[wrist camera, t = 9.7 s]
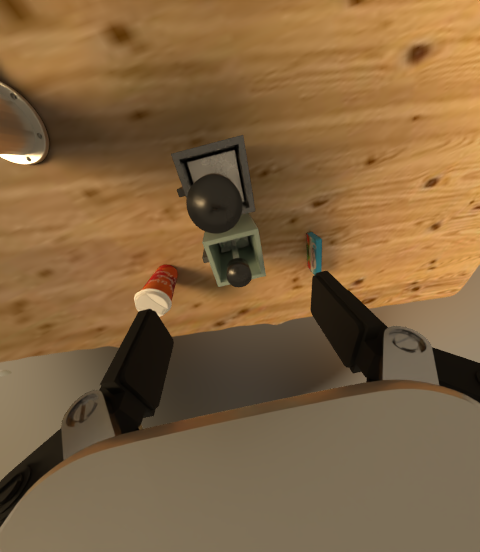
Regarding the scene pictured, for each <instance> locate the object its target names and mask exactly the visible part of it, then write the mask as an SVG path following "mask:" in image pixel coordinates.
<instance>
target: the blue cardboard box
mask: <svg viewBox="0 0 480 552" xmlns="http://www.w3.org/2000/svg"><path fill="white" fill-rule="evenodd" d="M306 235H307V264H308V268H309V269H310V271H311V272H312V273H313V274H314V275H315V274H316V273H318V272H321V262H322V239H321V238H320V237H318V236H317V235H316V234H314V233H313V232H310V233H307V234H306Z"/></svg>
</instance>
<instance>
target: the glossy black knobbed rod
mask: <svg viewBox="0 0 480 552" xmlns="http://www.w3.org/2000/svg"><path fill="white" fill-rule="evenodd" d="M219 245H220V249H221V252H226V251H230V250H232V254H233V259H232V260H230V261H229V262H228V264H227V280H228V282H229V283H230V284H231V285H232V286H234V287H243V286H246V285H247V284H248V283H249V282H250V281H251V279H252V274H251V270H250V267H249V264H248V262H247V261H246V260H245V259H243V258H239V254H238V250H237V249H239V248H243V247H247V246H249V242H248V237H247V236H245V237H241V238H237V239H233V240H229V241H225V242H221V243H219Z"/></svg>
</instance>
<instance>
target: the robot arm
mask: <svg viewBox="0 0 480 552" xmlns="http://www.w3.org/2000/svg"><path fill="white" fill-rule="evenodd" d="M48 150H49V139H48V134H47V131H46V129H45V126H44V124H43V122H42V120H41V118H40V117H39V115H38V114H37V112H36V111H35V110H34V108H33V107H32V106H31V105H30V104H29V103H28V101H27V100H26V99H25V98H23V97H22V96H21V95H20V94H19V93H18V92H17V91H15V90H14V89H12V88H11V87H10V86H8V85H6V84H4V83H2V82H1V81H0V157H2V158H4V159H6V160H8V161H11V162H14V163H18V164H25V165H26V164H37V163H39V162H41V161H42V160H43V159H44V158H45V157H46V156H47V154H48ZM311 313H312V315H313V317H314V318H315V320H316V322H317V323H318V325H319V326H320V328H321V329H322V331H323V333H324V334H325V336H326V337H327V339H328V340H329V342H330V343H331V345H332V347H333V348H334V350H335V351H336V353H337V354H338V356H339V358H340V359H341V361H342V362H343V364H344V365H345V366H346V367H349V368H350V370H351V371H352V372H353V373H357V372H362V373H363V374H364V376H365V377H367V381H366V383H360V384H355V385H350V386H344V387H339V388H333V389H328V390H323V391H319V392H314V393H309V394H304V395H299V396H294V397H290V398H285V399H280V400H275V401H270V402H266V403H261V404H256V405H251V406H247V407H242V408H237V409H233V410H229V411H223V412H218V413H214V414H209V415H205V416H200V417H196V418H191V419H186V420H182V421H177V422H173V423H168V424H163V425H159V426H154V427H150V428H146V429H143V427H142V425H141V422H142V419H143V418H145V417H150V416H154V413H155V409H156V408H157V407H158V406H159V402H160V398H161V394H162V390H163V386H164V381H165V378H166V374H167V369H168V365H169V361H170V357H171V353H172V349H173V343H174V342H173V339H172V337H171V335H170V334H169V332H168V330H167V329H166V327H165V326H164V324H163V322H162V321H161V319H160V318H159V316H158V314H157V313H156V311H154V310H152V309H146V310H141V311H139V312H138V314H137V316H136V318H135V319H134V321H133V323H132V325H131V327H130V329H129V331H128V333H127V335H126V336H125V338H124V340H123V342H122V344H121V346H120V348H119V350H118V351H117V353H116V355H115V357H114V359H113V361H112V363H111V365H110V367H109V368H108V371H107V372H106V374H105V376H104V378H103V380H102V382H101V388H100V390H92V391H90V392H87V393H85V394H84V395H82V396H81V397H80V398H78V399H77V400H76V401H75V402H74V403H73V404H72V405H71V406H70V408H69V409H68V411H67V412H66V414H65V415H64V418H63V420H62V425H61V429H60V430H58V431H57V432H56V433H55V434H54V435H53V436H51V437H50V438H49V439H48V440H47V441H46V442H44V443H43V444H42V445H41V446H40V447H39V448H37V449H36V450H35V451H34V452H33V453H32V454H30V455H29V456H28V457H27V458H26V459H25V460H24V461H22V462H21V463H20V464H19V465H18V466H16V467H15V468H14V469H13V470H12V471H11V472H9V473H8V474H7V475H6V476H5V477H4V478H3V479H2V480H1V482H0V552H480V363H477V362H475V361H472V360H468V359H466V358H463V357H460V356H456V355H453V354H451V353H448V352H444V351H441V350H439V349H435V348H432V347H431V344H430V342H429V341H428V340H427V339H426V338H425V337H424V336H423V335H421V334H420V333H418V332H416V331H414V330H412V329H409V328H406V327H401V326H392V327H389V328H388V327H387V326H386V325H385V324H384V323H382V322H381V321H380V320H379V319H378V318H377V317H376V316H375V315H374V314H373V313H372V312H371V311H370V310H369V309H368V308H367V307H366V306H365V305H364V304H363V303H362V302H361V301H360V300H358V299H357V298H356V297H355V296H354V295H353V294H352V293H351V292H350V291H348V290H347V289H346V288H345V287H343V286H342V285H341V284H340V283H339V282H338V281H337V280H336V279H335V278H334V277H333V276H332V275H331V274H330V273H329V272H328V271H323V272H318V273H316V274H315V276H313V278H312V295H311Z"/></svg>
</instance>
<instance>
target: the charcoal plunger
mask: <svg viewBox="0 0 480 552" xmlns="http://www.w3.org/2000/svg"><path fill="white" fill-rule="evenodd" d="M187 164H188V167H189V170H190V173H191V176H192V180H193V183H194V184H193V185H192V186H191V188H190V190H189V192H188V195H187V210H188V213H189V216H190V218H191V219H192V221H193V222H194V223H195V225H196V226H198V227H199V228H200V229H202V230H204V231H206V232H209V233H214V234H218V233H224V232H226V231H228V230H230V229H232V228H233V227H234V226H235V225H236V224H237V222H238V221H239V219H240V217H241V214H242V202H244V198H243V193H242V187H241V182H240V177H239V171H238V166H237V161H236V156H235V150H233V151H229V152H225V153H221V154H218V155H214V156H210V157H206V158H202V159H198V160H195V161H191V162H187Z"/></svg>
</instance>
